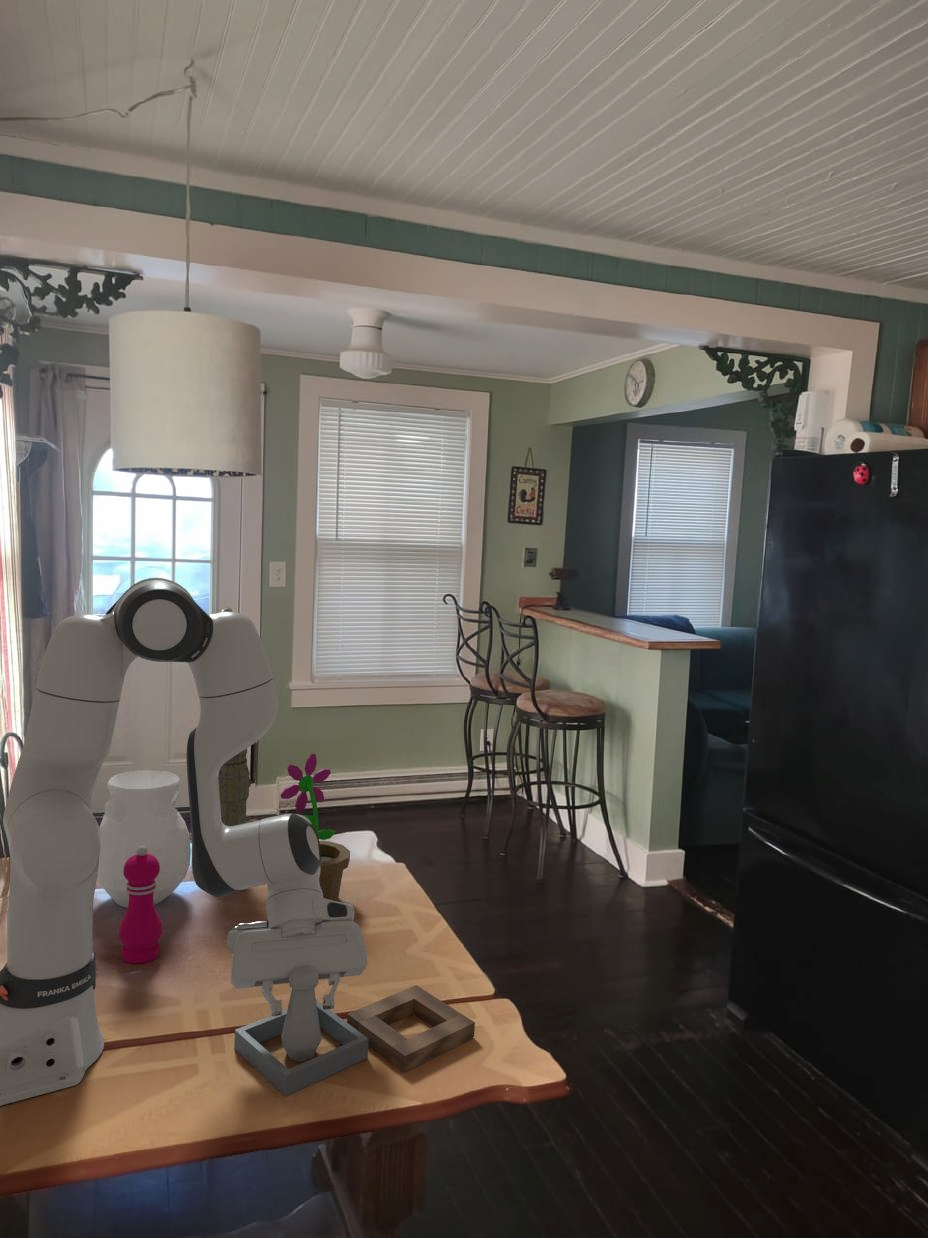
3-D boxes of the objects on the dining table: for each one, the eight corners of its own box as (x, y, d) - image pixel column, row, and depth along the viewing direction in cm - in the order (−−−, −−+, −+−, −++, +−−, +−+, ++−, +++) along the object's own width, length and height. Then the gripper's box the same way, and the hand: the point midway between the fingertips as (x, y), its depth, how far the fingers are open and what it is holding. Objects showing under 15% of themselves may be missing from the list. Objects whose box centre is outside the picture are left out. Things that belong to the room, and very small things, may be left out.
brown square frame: (404, 1072, 129) (404, 1056, 128) (346, 1029, 139) (347, 1014, 138) (474, 1037, 138) (474, 1022, 138) (415, 999, 148) (416, 985, 148)
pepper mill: (112, 952, 158) (113, 843, 156) (152, 942, 163) (154, 836, 161) (127, 969, 153) (128, 857, 151) (168, 958, 157) (170, 848, 155)
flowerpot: (320, 881, 194) (325, 746, 191) (362, 903, 184) (368, 761, 181) (264, 898, 184) (268, 756, 181) (305, 923, 174) (310, 772, 171)
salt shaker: (312, 1068, 128) (315, 982, 127) (274, 1062, 129) (277, 976, 128) (326, 1045, 134) (329, 963, 133) (290, 1039, 135) (293, 957, 134)
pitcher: (137, 928, 168) (138, 799, 165) (72, 903, 177) (72, 780, 174) (209, 894, 184) (212, 776, 182) (147, 873, 193) (148, 760, 190)
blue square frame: (285, 1096, 122) (286, 1075, 122) (234, 1049, 132) (234, 1030, 132) (367, 1058, 132) (368, 1039, 131) (314, 1016, 142) (314, 998, 141)
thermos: (191, 873, 194) (194, 715, 190) (242, 863, 201) (246, 710, 198) (207, 888, 187) (211, 724, 183) (259, 876, 195) (264, 719, 191)
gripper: (228, 917, 133) (231, 1014, 125) (363, 905, 139) (374, 997, 131) (225, 932, 138) (228, 1026, 129) (356, 920, 144) (366, 1009, 136)
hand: (303, 1011), depth 130 cm, fingers open, 6 cm apart
